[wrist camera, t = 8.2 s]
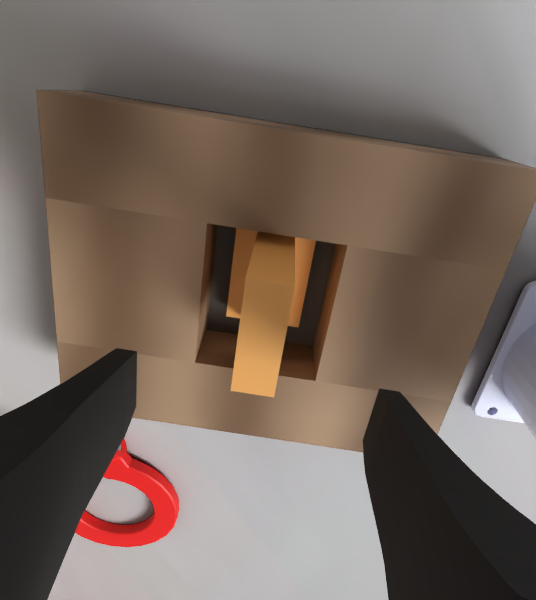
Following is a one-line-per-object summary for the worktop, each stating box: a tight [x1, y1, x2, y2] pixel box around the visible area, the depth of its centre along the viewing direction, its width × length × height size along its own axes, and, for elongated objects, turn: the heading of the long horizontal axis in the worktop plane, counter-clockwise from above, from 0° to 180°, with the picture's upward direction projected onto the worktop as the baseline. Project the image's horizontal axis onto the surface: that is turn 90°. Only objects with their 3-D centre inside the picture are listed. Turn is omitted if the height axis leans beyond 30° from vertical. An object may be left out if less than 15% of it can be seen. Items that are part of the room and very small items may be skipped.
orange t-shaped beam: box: [226, 228, 316, 397], centre depth 18 cm, size 4×4×6 cm
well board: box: [37, 90, 536, 452], centre depth 20 cm, size 18×14×4 cm
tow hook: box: [75, 439, 179, 547], centre depth 23 cm, size 8×13×9 cm
